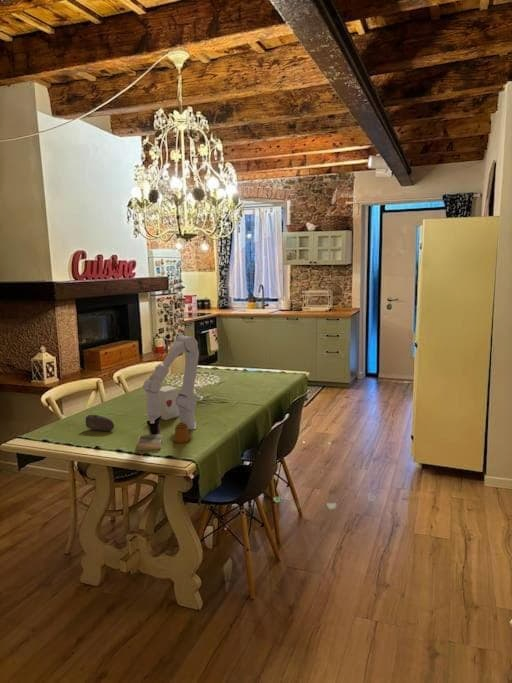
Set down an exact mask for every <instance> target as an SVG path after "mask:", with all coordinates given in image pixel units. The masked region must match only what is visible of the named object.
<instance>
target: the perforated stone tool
mask: <svg viewBox="0 0 512 683" xmlns="http://www.w3.org/2000/svg"><path fill="white" fill-rule="evenodd" d="M85 426H86V428H87V429H90V430H92V431H100V432H101V431H103V432H109V431H113V430H114V429H115V424H114V422H113V421H112V420H111V419H110V418H107V417H105V416H102V415H96V414H89V415H87V416H86V417H85Z"/></svg>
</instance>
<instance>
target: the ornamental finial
mask: <svg viewBox="0 0 512 683" xmlns="http://www.w3.org/2000/svg"><path fill="white" fill-rule="evenodd" d="M189 431H190V430H188V425H186V424H185V423H183V422H181V423H178V424H176V425H175V427H174V436H173V441H174V442H175V443H177V444H183V443H184V444H185V443H189V441H190V440H191V437H192V436H191V435H190V432H189Z"/></svg>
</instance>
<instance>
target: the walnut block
mask: <svg viewBox="0 0 512 683" xmlns="http://www.w3.org/2000/svg"><path fill="white" fill-rule="evenodd" d="M148 431H149V435H152V434H151V431H150V428H149V427H148ZM157 434H162V432H161V422H159V424H158V431H157Z"/></svg>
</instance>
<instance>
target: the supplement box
mask: <svg viewBox="0 0 512 683" xmlns="http://www.w3.org/2000/svg"><path fill="white" fill-rule="evenodd" d="M178 393H179V388H178V387H174V386H171V385H165V386H161V389H160V390H159V400H160V413H161V419H162V420H164V421H168V420H170V419H174V418H177V417H179V409H178V406H177V405H176V397H177V396H178ZM161 419H160V420H161Z"/></svg>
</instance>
